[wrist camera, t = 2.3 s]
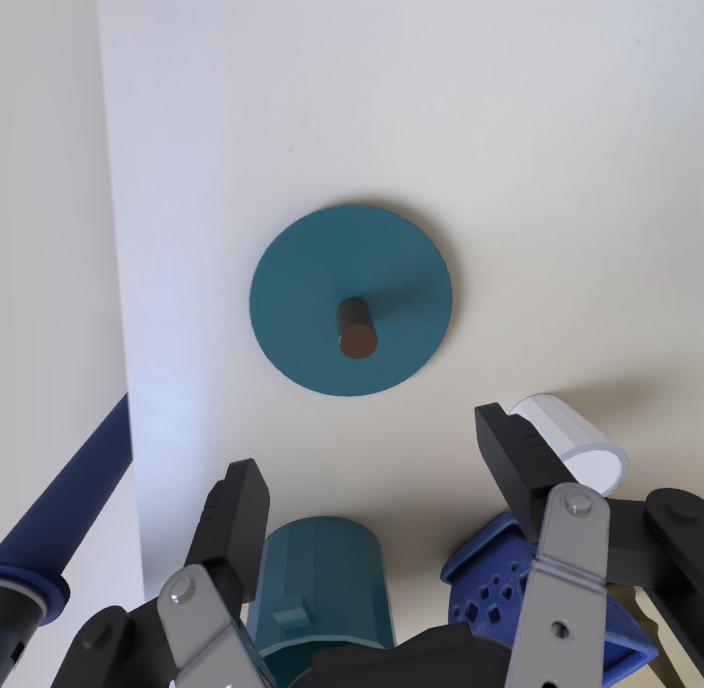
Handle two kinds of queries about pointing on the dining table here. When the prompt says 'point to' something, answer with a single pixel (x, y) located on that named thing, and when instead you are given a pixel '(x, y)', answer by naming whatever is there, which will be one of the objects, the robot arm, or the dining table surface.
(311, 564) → the tin
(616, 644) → the flower pot
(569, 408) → the shot glass
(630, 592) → the kendama
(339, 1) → the dining table surface
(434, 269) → the lid
